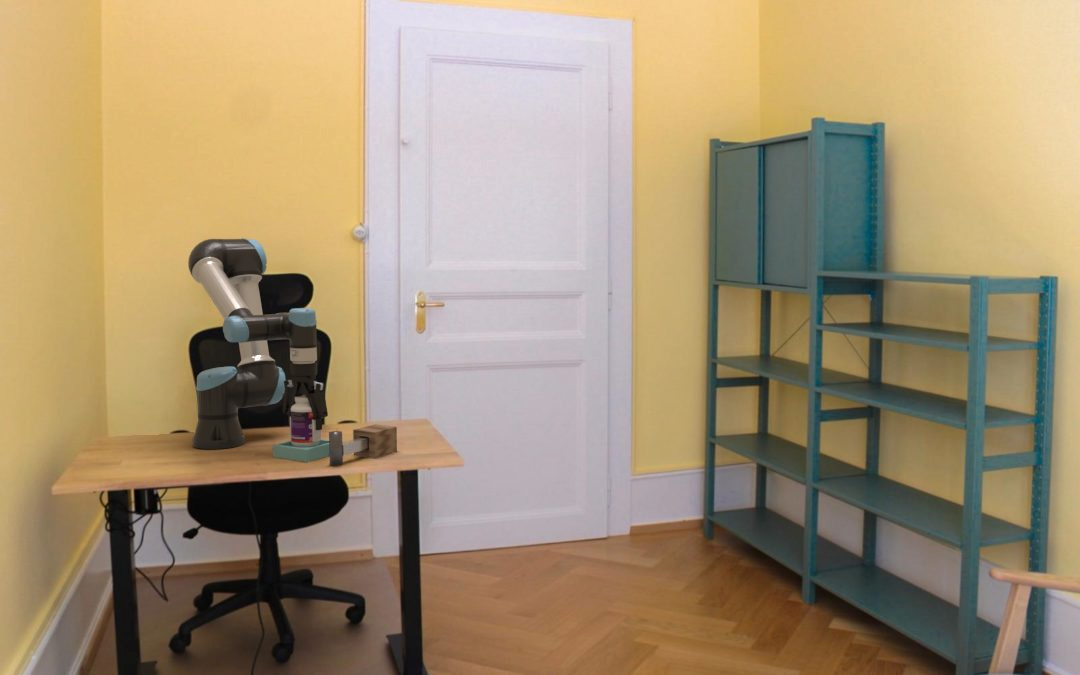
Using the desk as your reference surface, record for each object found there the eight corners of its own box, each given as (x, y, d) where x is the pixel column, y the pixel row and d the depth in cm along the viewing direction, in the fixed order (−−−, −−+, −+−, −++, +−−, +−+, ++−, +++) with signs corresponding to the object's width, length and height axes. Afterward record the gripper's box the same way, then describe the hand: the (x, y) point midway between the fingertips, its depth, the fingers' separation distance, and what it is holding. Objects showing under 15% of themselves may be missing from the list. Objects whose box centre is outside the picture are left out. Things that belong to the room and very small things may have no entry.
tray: (273, 457, 277) (272, 444, 276) (305, 448, 288) (304, 437, 288) (306, 462, 270) (306, 449, 270) (338, 453, 282) (337, 441, 281)
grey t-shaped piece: (336, 466, 264) (336, 433, 264) (326, 464, 266) (326, 432, 265) (377, 454, 279) (376, 423, 279) (367, 452, 281) (367, 422, 280)
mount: (375, 458, 275) (374, 432, 275) (353, 455, 279) (353, 429, 279) (397, 451, 284) (396, 426, 283) (375, 448, 288) (375, 424, 287)
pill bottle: (312, 449, 274) (311, 399, 273) (286, 447, 276) (285, 398, 274) (324, 443, 282) (323, 394, 281) (299, 442, 284) (297, 393, 282)
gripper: (267, 361, 278) (269, 438, 281) (321, 365, 268) (323, 445, 270) (286, 358, 285) (288, 433, 287) (340, 362, 275) (341, 440, 277)
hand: (305, 439), depth 279 cm, fingers closed on pill bottle, 8 cm apart
